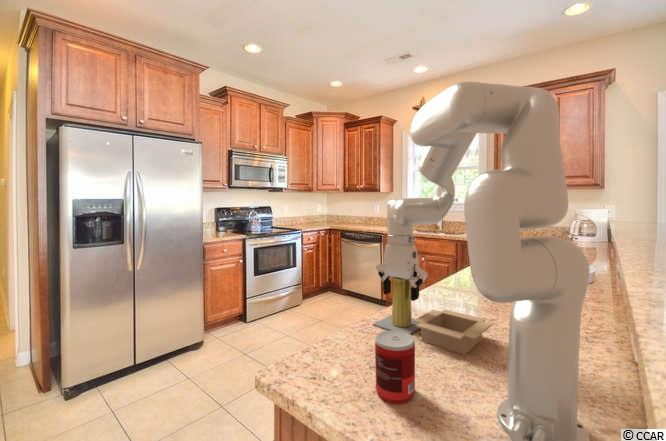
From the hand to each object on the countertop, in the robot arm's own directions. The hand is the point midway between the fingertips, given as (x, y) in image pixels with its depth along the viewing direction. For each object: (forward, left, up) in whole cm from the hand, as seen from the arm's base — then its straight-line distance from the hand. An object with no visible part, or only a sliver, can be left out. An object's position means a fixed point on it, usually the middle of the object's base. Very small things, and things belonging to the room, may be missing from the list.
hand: (400, 296), depth 96 cm
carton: (0, -16, -9) cm, 18 cm away
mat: (0, 0, -9) cm, 9 cm away
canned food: (-30, -18, -9) cm, 36 cm away
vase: (0, 0, -8) cm, 9 cm away
